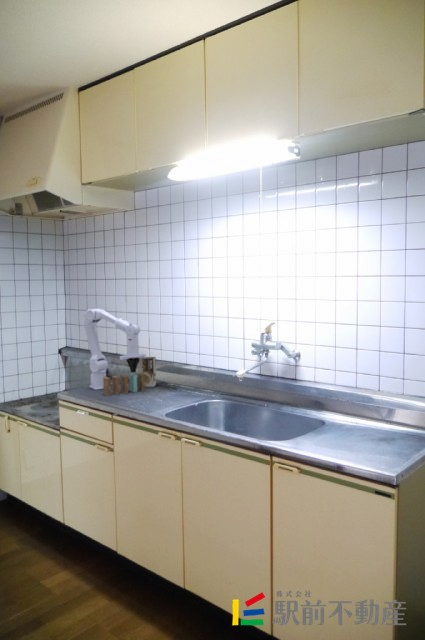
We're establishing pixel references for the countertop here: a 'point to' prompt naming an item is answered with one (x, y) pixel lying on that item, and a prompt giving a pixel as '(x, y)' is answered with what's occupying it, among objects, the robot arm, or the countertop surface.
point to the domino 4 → (133, 382)
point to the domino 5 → (141, 381)
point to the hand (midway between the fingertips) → (133, 372)
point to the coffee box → (148, 370)
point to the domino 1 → (107, 386)
